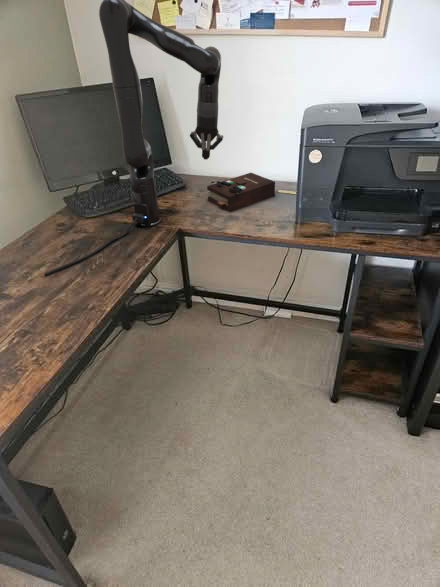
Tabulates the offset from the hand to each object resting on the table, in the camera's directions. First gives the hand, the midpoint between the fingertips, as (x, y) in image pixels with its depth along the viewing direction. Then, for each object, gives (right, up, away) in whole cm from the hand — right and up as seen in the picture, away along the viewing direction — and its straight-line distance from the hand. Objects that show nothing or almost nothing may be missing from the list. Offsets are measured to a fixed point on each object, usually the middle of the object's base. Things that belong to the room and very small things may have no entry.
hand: (205, 158), depth 154 cm
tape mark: (+37, -5, +30) cm, 48 cm away
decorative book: (+15, -9, +27) cm, 33 cm away
